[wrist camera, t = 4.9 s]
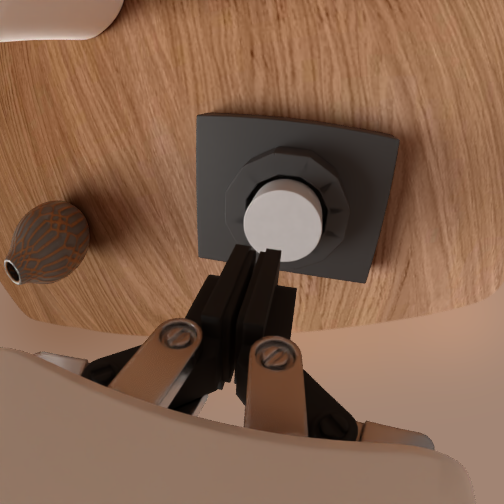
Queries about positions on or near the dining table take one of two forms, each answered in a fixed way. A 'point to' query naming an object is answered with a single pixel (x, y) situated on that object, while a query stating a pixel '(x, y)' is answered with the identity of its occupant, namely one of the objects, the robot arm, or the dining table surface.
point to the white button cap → (284, 219)
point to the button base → (300, 169)
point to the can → (55, 19)
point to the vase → (47, 244)
